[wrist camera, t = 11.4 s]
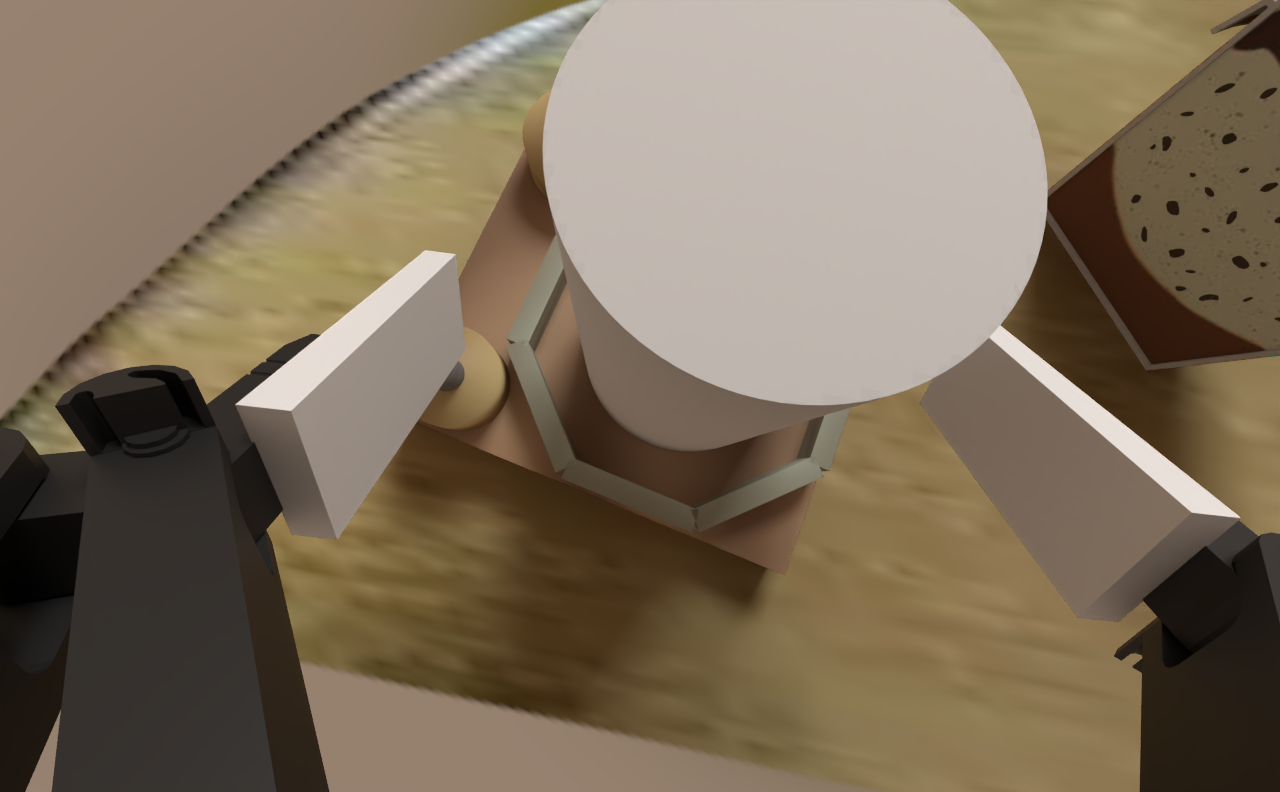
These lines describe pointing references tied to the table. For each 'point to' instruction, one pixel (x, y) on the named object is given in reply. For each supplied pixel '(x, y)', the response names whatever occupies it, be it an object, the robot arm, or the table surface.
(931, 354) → the tall round pillar
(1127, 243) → the food container
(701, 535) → the gear board
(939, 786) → the table surface
